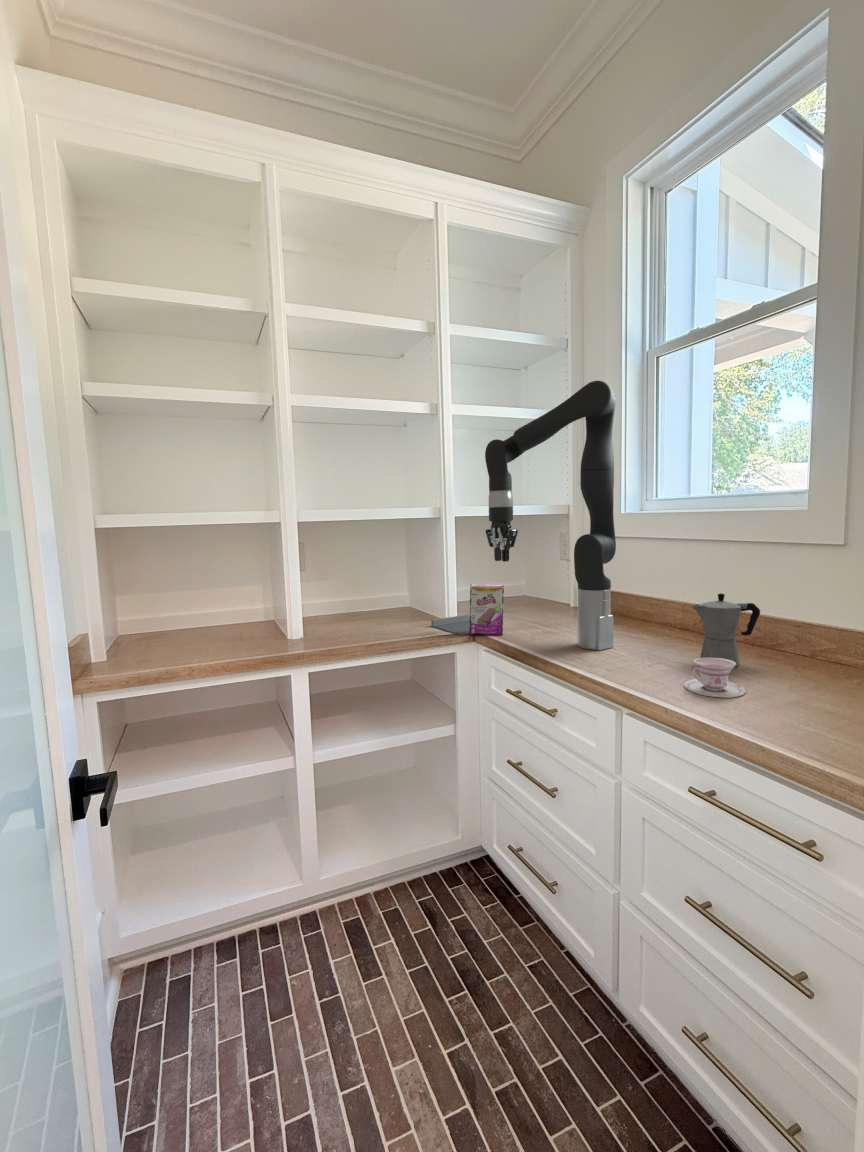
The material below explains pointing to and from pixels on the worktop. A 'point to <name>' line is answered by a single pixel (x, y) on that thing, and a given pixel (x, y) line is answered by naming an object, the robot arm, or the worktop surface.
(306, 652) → the worktop surface
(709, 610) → the coffeepot
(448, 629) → the mat
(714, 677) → the teacup
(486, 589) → the candy bar box
